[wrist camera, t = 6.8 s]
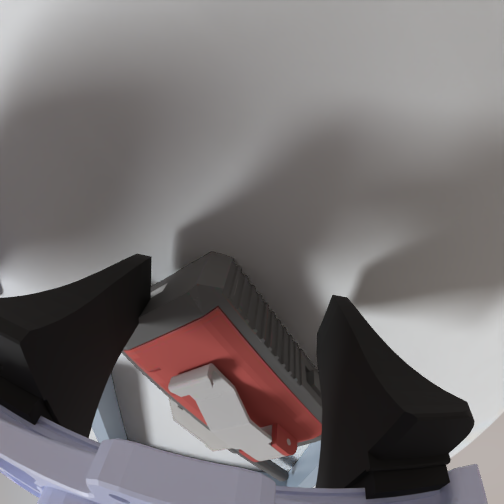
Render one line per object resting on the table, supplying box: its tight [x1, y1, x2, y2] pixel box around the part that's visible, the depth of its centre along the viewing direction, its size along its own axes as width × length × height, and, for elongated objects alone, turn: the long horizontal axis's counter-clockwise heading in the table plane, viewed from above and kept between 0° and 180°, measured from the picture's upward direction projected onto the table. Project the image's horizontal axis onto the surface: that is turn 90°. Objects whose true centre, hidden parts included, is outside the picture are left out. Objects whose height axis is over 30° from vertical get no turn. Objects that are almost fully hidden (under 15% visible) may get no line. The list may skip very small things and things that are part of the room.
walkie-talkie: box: [121, 252, 322, 481], centre depth 15 cm, size 9×4×20 cm
